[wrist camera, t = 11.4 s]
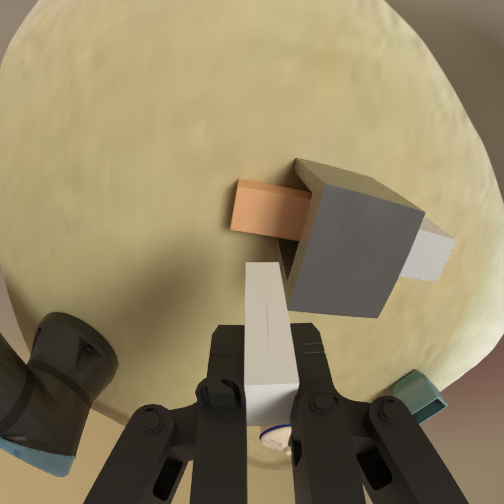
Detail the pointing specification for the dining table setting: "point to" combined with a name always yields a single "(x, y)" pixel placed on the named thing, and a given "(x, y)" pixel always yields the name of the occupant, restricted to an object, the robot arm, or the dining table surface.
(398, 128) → the dining table surface
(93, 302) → the dining table surface
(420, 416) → the flower pot
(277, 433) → the teacup with lid
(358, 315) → the block
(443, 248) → the orange bar on cube
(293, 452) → the robot arm
